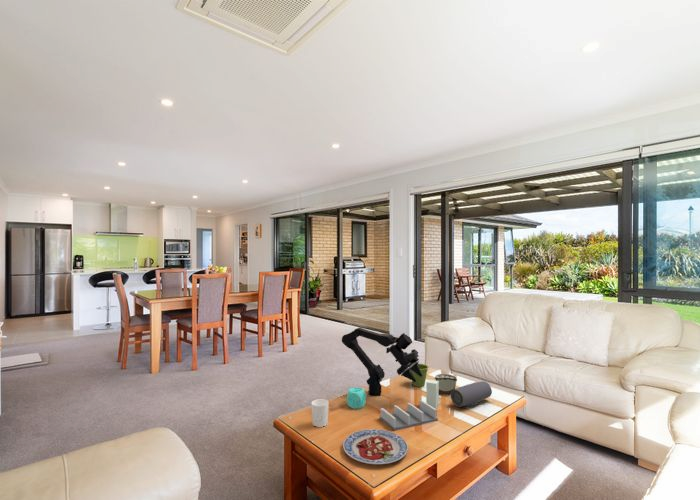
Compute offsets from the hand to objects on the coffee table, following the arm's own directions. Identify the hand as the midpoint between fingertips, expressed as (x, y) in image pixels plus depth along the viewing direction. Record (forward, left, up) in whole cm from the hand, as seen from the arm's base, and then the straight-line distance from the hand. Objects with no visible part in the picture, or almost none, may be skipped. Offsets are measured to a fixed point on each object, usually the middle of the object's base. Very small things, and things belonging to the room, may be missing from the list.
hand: (418, 378), depth 187 cm
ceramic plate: (-28, -43, -14) cm, 53 cm away
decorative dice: (-33, -1, -13) cm, 35 cm away
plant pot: (+6, +27, -13) cm, 31 cm away
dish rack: (-9, -17, -13) cm, 24 cm away
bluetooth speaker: (+28, 0, -13) cm, 31 cm away
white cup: (-51, -21, -13) cm, 56 cm away
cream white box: (+6, -4, -13) cm, 15 cm away
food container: (+18, +14, -13) cm, 27 cm away
